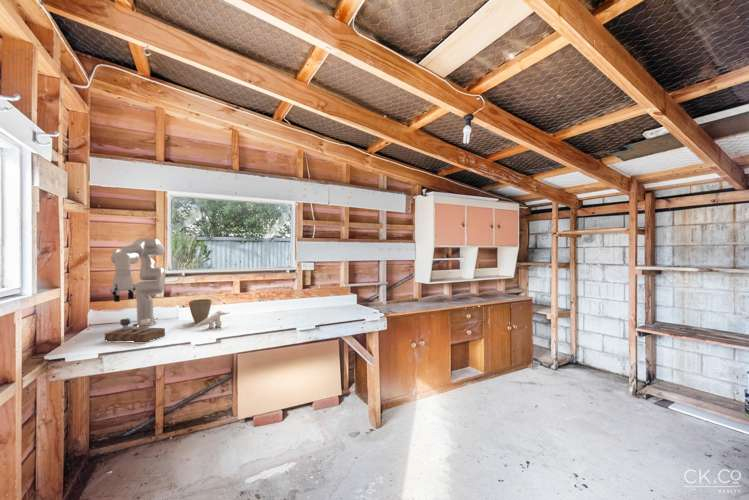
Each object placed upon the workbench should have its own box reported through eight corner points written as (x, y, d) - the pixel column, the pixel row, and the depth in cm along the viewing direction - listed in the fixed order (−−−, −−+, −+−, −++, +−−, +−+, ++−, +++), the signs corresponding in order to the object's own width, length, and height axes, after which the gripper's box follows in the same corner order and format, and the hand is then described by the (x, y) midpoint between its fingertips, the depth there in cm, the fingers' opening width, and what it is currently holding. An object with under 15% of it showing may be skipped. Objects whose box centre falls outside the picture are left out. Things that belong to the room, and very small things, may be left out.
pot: (135, 329, 196) (135, 323, 196) (139, 330, 196) (139, 323, 195) (131, 331, 193) (131, 324, 193) (135, 331, 193) (135, 325, 192)
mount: (105, 341, 189) (104, 333, 189) (126, 334, 203) (125, 327, 203) (146, 343, 186) (146, 334, 185) (164, 335, 199) (164, 328, 199)
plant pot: (205, 324, 227) (205, 302, 227) (184, 324, 227) (184, 302, 226) (215, 319, 242) (215, 298, 241) (196, 319, 242) (195, 299, 241)
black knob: (125, 330, 198) (125, 318, 198) (132, 330, 197) (132, 318, 197) (118, 332, 193) (118, 319, 193) (125, 332, 192) (125, 320, 192)
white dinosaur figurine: (232, 324, 224) (230, 309, 222) (194, 334, 208) (192, 318, 207) (229, 322, 229) (227, 307, 228) (192, 331, 213) (190, 316, 212)
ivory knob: (145, 331, 196) (145, 318, 196) (152, 331, 195) (151, 318, 195) (138, 333, 191) (138, 320, 191) (145, 333, 191) (145, 320, 190)
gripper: (130, 271, 203) (131, 297, 204) (103, 274, 186) (105, 302, 186) (140, 271, 202) (141, 297, 203) (114, 274, 185) (116, 303, 185)
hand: (124, 300), depth 194 cm, fingers open, 8 cm apart
